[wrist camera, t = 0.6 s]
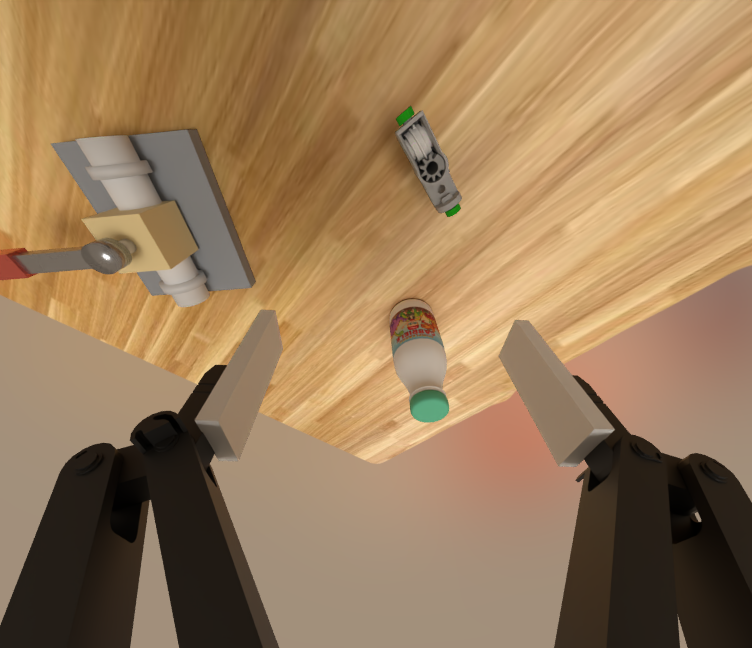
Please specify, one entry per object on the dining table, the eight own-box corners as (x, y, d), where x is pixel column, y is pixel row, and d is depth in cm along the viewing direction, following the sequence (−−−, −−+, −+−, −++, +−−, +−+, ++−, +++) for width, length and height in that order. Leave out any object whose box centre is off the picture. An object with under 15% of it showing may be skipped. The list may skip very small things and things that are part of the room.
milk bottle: (438, 323, 49) (471, 420, 33) (400, 338, 51) (413, 437, 35) (422, 290, 45) (451, 382, 29) (381, 308, 47) (386, 404, 31)
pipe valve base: (66, 142, 32) (-46, 148, 23) (196, 129, 31) (130, 130, 23) (160, 289, 44) (108, 329, 35) (255, 281, 43) (226, 320, 35)
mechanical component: (427, 201, 36) (443, 222, 28) (385, 124, 31) (389, 124, 23) (447, 187, 35) (469, 205, 27) (406, 106, 30) (419, 98, 22)
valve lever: (119, 236, 28) (104, 243, 26) (138, 265, 30) (124, 272, 28) (-31, 249, 28) (-55, 256, 27) (-3, 276, 30) (-24, 285, 29)
